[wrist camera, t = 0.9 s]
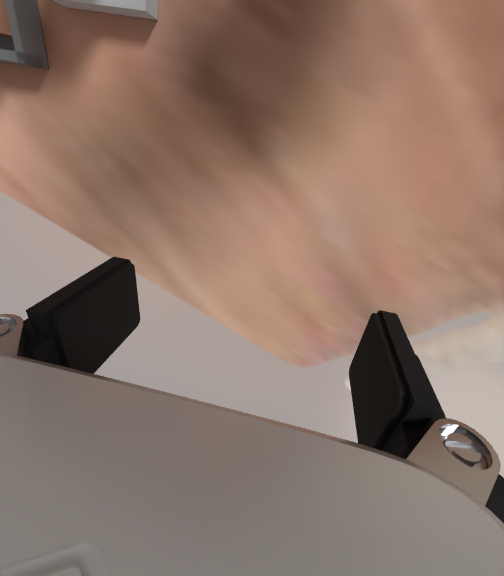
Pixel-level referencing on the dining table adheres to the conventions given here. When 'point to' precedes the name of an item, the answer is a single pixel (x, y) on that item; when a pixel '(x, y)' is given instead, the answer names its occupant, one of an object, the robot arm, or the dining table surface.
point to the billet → (4, 21)
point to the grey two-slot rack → (24, 35)
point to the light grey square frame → (116, 7)
